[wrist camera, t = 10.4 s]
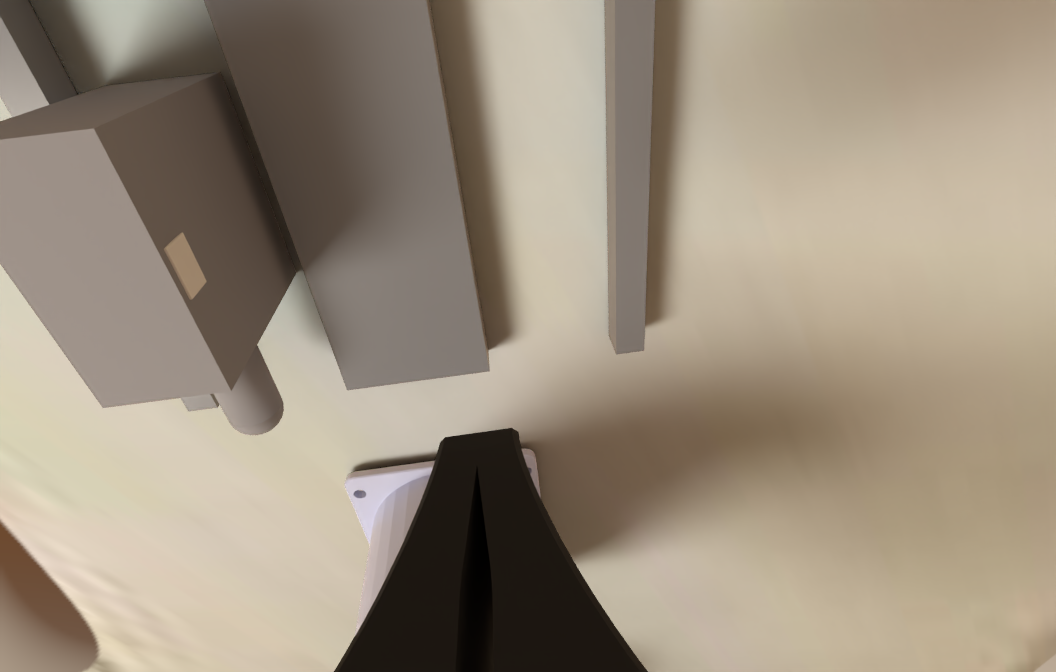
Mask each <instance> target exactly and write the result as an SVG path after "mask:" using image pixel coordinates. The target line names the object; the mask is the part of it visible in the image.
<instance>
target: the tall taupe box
mask: <svg viewBox="0 0 1056 672" xmlns="http://www.w3.org/2000/svg"><path fill="white" fill-rule="evenodd" d="M0 264H1V266H2V267H3V268H4V270H5V271H6V273H7V274H8V275H9V277H10V278H11V280H12V281H13V282H14V284H15V285H16V287H17V288H18V289H19V291H20V292H21V294H22V295H23V296H24V298H25V299H26V301H27V302H28V303H29V305H30V306H31V308H32V309H33V310H34V312H35V313H36V315H37V316H38V317H39V319H40V320H41V322H42V323H43V324H44V326H45V327H46V329H47V330H48V331H49V333H50V334H51V336H52V337H53V338H54V340H55V341H56V343H57V344H58V346H59V347H60V348H61V350H62V351H63V353H64V354H65V355H66V357H67V358H68V360H69V361H70V362H71V364H72V365H73V367H74V368H75V369H76V371H77V372H78V374H79V375H80V376H81V378H82V379H83V381H84V382H85V383H86V385H87V386H88V388H89V389H90V390H91V392H92V393H93V395H94V396H95V397H96V399H97V400H98V402H99V403H100V404H101V406H102V407H103V408H107V407H114V406H122V405H130V404H137V403H145V402H153V401H160V400H168V399H176V398H183V397H191V396H199V395H206V394H214V395H215V397H216V399H217V401H218V403H219V404H220V406H221V408H222V410H223V412H224V414H225V415H226V417H227V419H228V421H229V423H230V424H231V425H232V426H233V428H235V429H236V430H237V431H239V432H241V433H243V434H247V435H260V434H264V433H266V432H268V431H270V430H272V429H273V428H274V427H275V426H276V425H277V424H278V423H279V421H280V419H281V418H282V415H283V411H284V409H283V401H282V398H281V396H280V394H279V391H278V389H277V387H276V385H275V383H274V381H273V378H272V376H271V374H270V372H269V370H268V368H267V365H266V363H265V361H264V359H263V357H262V355H261V352H260V350H259V348H258V346H257V344H258V342H259V340H260V338H261V336H262V335H263V333H264V331H265V329H266V327H267V325H268V324H269V322H270V320H271V318H272V316H273V315H274V313H275V311H276V309H277V307H278V305H279V304H280V302H281V300H282V298H283V296H284V295H285V293H286V291H287V289H288V287H289V285H290V284H291V282H292V280H293V278H294V276H295V275H296V271H295V268H294V266H293V263H292V260H291V258H290V255H289V252H288V250H287V247H286V244H285V242H284V239H283V236H282V234H281V231H280V228H279V226H278V223H277V220H276V218H275V215H274V212H273V210H272V207H271V205H270V202H269V199H268V197H267V194H266V191H265V189H264V186H263V183H262V181H261V178H260V175H259V173H258V170H257V167H256V165H255V162H254V159H253V157H252V154H251V151H250V149H249V146H248V143H247V141H246V138H245V136H244V133H243V130H242V128H241V125H240V122H239V120H238V117H237V114H236V112H235V109H234V106H233V104H232V101H231V98H230V96H229V93H228V90H227V88H226V85H225V82H224V80H223V77H222V74H221V72H215V73H207V74H198V75H190V76H182V77H173V78H165V79H156V80H148V81H140V82H131V83H123V84H114V85H106V86H103V87H100V88H97V89H94V90H91V91H88V92H85V93H82V94H79V95H76V96H73V97H71V98H68V99H65V100H62V101H59V102H56V103H53V104H50V105H47V106H44V107H41V108H38V109H35V110H33V111H30V112H27V113H24V114H21V115H18V116H15V117H12V118H9V119H6V120H3V121H0Z"/></svg>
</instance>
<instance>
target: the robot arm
mask: <svg viewBox="0 0 1056 672" xmlns="http://www.w3.org/2000/svg"><path fill="white" fill-rule="evenodd" d="M345 488H346V491H347V493H348V495H349V498H350V500H351V502H352V505H353V507H354V509H355V512H356V514H357V516H358V519H359V521H360V524H361V526H362V528H363V531H364V533H365V535H366V538H367V540H368V542H369V545H370V546H369V552H368V558H367V564H366V570H365V576H364V583H363V589H362V595H361V601H360V607H359V613H358V619H357V626H356V632H355V637H354V639H353V640H352V642H351V644H350V646H349V647H348V649H347V651H346V653H345V654H344V656H343V658H342V659H341V661H340V663H339V664H338V666H337V668H336V669H335V671H334V672H648V671H647V670H646V669H645V667H644V666H643V665H642V664H641V662H640V661H639V660H638V658H637V657H636V655H635V654H634V653H633V651H632V650H631V648H630V647H629V646H628V644H627V643H626V641H625V640H624V638H623V637H622V636H621V634H620V633H619V631H618V630H617V629H616V627H615V626H614V624H613V623H612V621H611V620H610V618H609V617H608V615H607V614H606V612H605V611H604V609H603V608H602V606H601V605H600V603H599V602H598V600H597V599H596V597H595V595H594V594H593V592H592V591H591V589H590V588H589V586H588V584H587V583H586V581H585V579H584V578H583V576H582V575H581V573H580V571H579V570H578V568H577V566H576V564H575V563H574V561H573V559H572V557H571V556H570V554H569V552H568V551H567V549H566V547H565V545H564V543H563V542H562V540H561V538H560V536H559V534H558V532H557V531H556V529H555V527H554V525H553V523H552V521H551V519H550V517H549V515H548V513H547V511H546V509H545V507H544V505H543V503H542V501H541V495H540V487H539V479H538V471H537V462H536V455H535V453H534V452H533V451H532V450H530V449H522V448H521V444H520V440H519V434H518V432H517V431H516V430H514V429H512V428H509V429H502V430H495V431H487V432H480V433H473V434H466V435H459V436H452V437H445V438H444V439H443V440H442V441H441V442H440V445H439V449H438V453H437V456H436V459H435V461H429V462H421V463H414V464H407V465H399V466H392V467H385V468H377V469H370V470H363V471H356V472H352V473H350V474H348V475H347V477H346V480H345ZM359 490H363V491H359Z"/></svg>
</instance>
